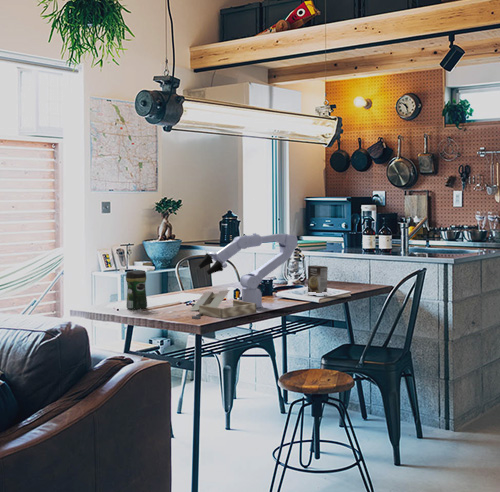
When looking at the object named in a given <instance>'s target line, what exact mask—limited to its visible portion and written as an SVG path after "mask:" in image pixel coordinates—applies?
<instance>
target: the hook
mask: <svg viewBox="0 0 500 492" xmlns="http://www.w3.org/2000/svg"><path fill="white" fill-rule="evenodd" d="M201 316H202V317H203V316H204V315H203V313H201V314H199V313H198V314H194V315H192V316H191V319H193V320H194V319H195V320H199V319H201Z"/></svg>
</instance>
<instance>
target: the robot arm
mask: <svg viewBox="0 0 500 492" xmlns="http://www.w3.org/2000/svg"><path fill="white" fill-rule="evenodd" d="M273 242H275V243H278V247H279V252H278V253H277V254H276V255H274V256H273V257H272V258H270V259H269V260H268V261H266V262H265V263H263V264H262V265H260V266H259V267H258V268H257V269H255V270H253V271H251V272H249V273H248V274H243V275H241V277H240V278H239V284H240V286H241V301H243V302H249V303H256V309H257V308H263V306H264V305H262V304H263V299H262V298H263V296H262V295H263V293H262V292H261V291H262V290H261V289H259V288H258V287H259V286H260V284H261V283H262V282H263V279H264V278H265V277H267V276H268V275H269V274H271V272H272V273H273V272H274V271H275V270H277V268H279V267H280V266H281V265H283V264H284V263H286V262H287V261H288V260H289V259H291V257H292V255H293V252H294V250H295V249H296V248H297V247H298V237H297V236H296V235H295V234H290V233H289V234H288V233H274V234H268V235H263V236H261V235H260V234H257V233H256V232H255V233H252V234H251V235H250V234H249V235H247V234H244V235H243V236H240V235H239V236H235V237H234V238H233V240H232V241H231V242H230V243H228V244H227V245H226V246H224V247H223V248H221V249H220V250H219V251H217V252H216V251H215V252H211V251H209V252H207V253H205V254H204V255H205V256H204V258H203V259H202V260H201V262H200V263H199V264H198V267H199V269H203V268H205V267H207V266H208V265H211V264H213V265H211V266H210V267H209V268H208V269H207V270H206V273H207V276H208V275H212V274H214V273H217V272H223V271H224V269H225V268H227V267H228V264H227V261H228V260H229V259H231V258H232V257H234V256H235V255H237V253H239V252H240V251H241V250H245V249H249V248H255V247H260V246H261V245H262V244H263V243H264V244H266V243H273Z"/></svg>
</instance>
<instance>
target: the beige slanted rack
mask: <svg viewBox="0 0 500 492" xmlns="http://www.w3.org/2000/svg"><path fill="white" fill-rule="evenodd" d="M229 292H230V289H229V290H228V289H226V290H224V289H223V290H219V292H218V293H214V291H205V292H204V293H202V295H201V296H200V297H199V299H198V300H197V301H196V302H195V304H194V305H193V306H192V307H191V308H190V309H189V311H199V305H203V306H209V307H215V308H219V306H220V305H221V303H222V302H223V301H224V299H225V298H226V296H227V295H228V294H229Z"/></svg>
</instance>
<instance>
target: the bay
mask: <svg viewBox="0 0 500 492" xmlns="http://www.w3.org/2000/svg"><path fill="white" fill-rule="evenodd" d="M201 313H203V315H202V316H209V317H213V318H219V319H222V318H230V317H234V316H235V317H236V316H240V315H241V316H242V315H247V314H253V313H257V308H256V303H249V302H243V301H242V300H235V299H234V300H233V301H232V306H230V307H228V306H227V307H222V308H221V307H217V308H215V307H209V306H203V305H199V310H198V314H201Z"/></svg>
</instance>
